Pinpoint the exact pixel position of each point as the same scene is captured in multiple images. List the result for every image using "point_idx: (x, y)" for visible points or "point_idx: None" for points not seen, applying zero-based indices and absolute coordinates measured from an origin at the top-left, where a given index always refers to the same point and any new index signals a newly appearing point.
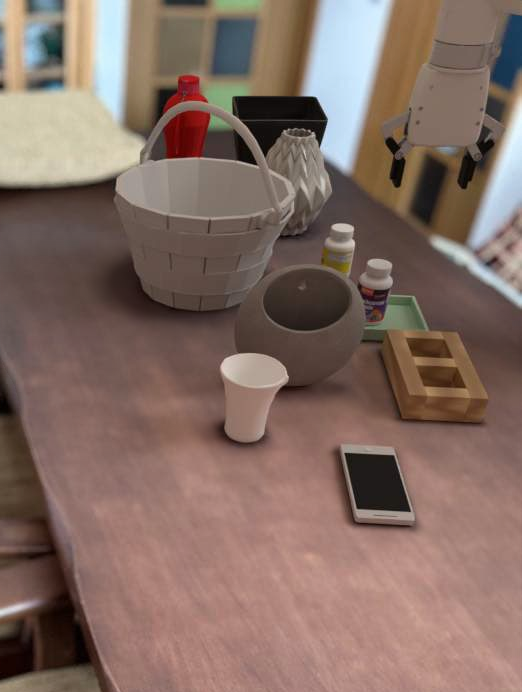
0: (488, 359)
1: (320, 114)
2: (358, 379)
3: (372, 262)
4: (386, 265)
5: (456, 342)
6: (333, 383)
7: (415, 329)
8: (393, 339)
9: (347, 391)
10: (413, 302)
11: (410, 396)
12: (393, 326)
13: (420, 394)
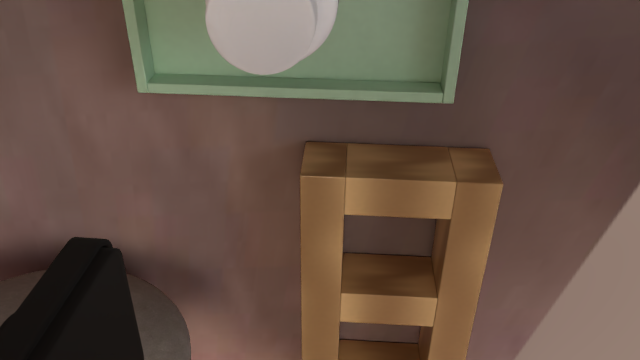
0: (586, 162)
1: None
2: (238, 252)
3: (227, 11)
4: (287, 39)
5: (477, 233)
6: (184, 267)
7: (433, 28)
8: (309, 227)
9: (212, 290)
10: None
11: None
12: (367, 13)
13: None
